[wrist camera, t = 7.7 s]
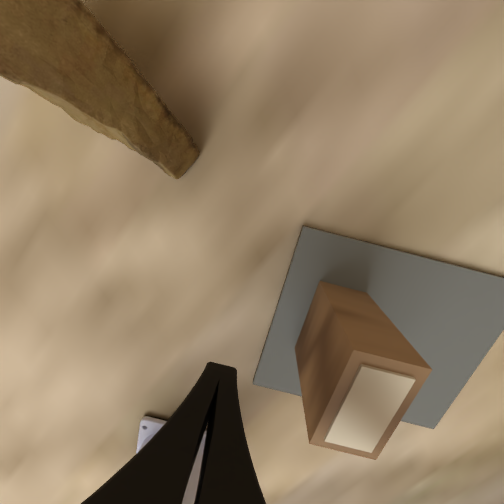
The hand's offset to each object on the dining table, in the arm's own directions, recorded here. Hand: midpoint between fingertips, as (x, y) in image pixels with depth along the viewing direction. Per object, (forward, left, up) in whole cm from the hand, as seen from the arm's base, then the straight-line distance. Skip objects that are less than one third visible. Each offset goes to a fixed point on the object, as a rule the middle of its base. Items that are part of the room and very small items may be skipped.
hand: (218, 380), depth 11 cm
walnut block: (0, -7, -7) cm, 10 cm away
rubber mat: (0, -11, -7) cm, 13 cm away
